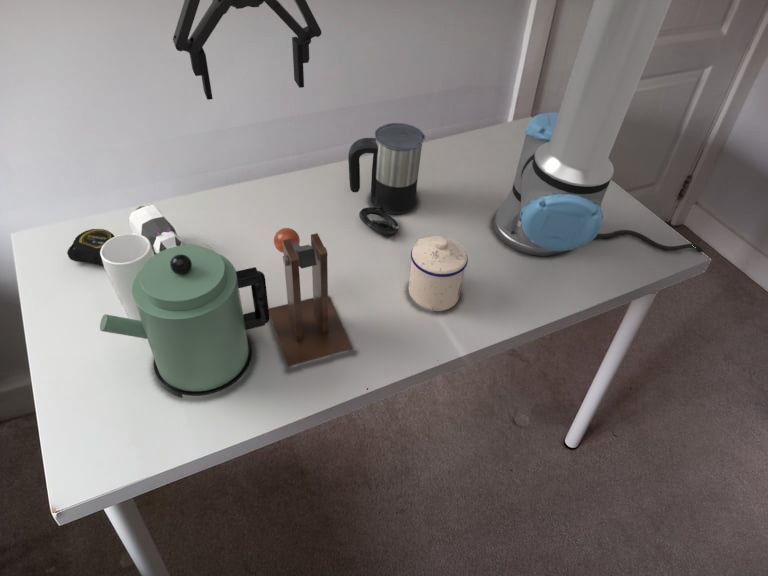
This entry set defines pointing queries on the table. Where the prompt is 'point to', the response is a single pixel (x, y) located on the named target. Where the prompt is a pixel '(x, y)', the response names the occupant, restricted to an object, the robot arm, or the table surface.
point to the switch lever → (296, 247)
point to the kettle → (194, 318)
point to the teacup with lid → (437, 272)
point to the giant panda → (154, 228)
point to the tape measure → (89, 246)
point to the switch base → (307, 312)
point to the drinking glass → (125, 266)
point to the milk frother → (388, 173)
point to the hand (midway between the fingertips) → (254, 89)
